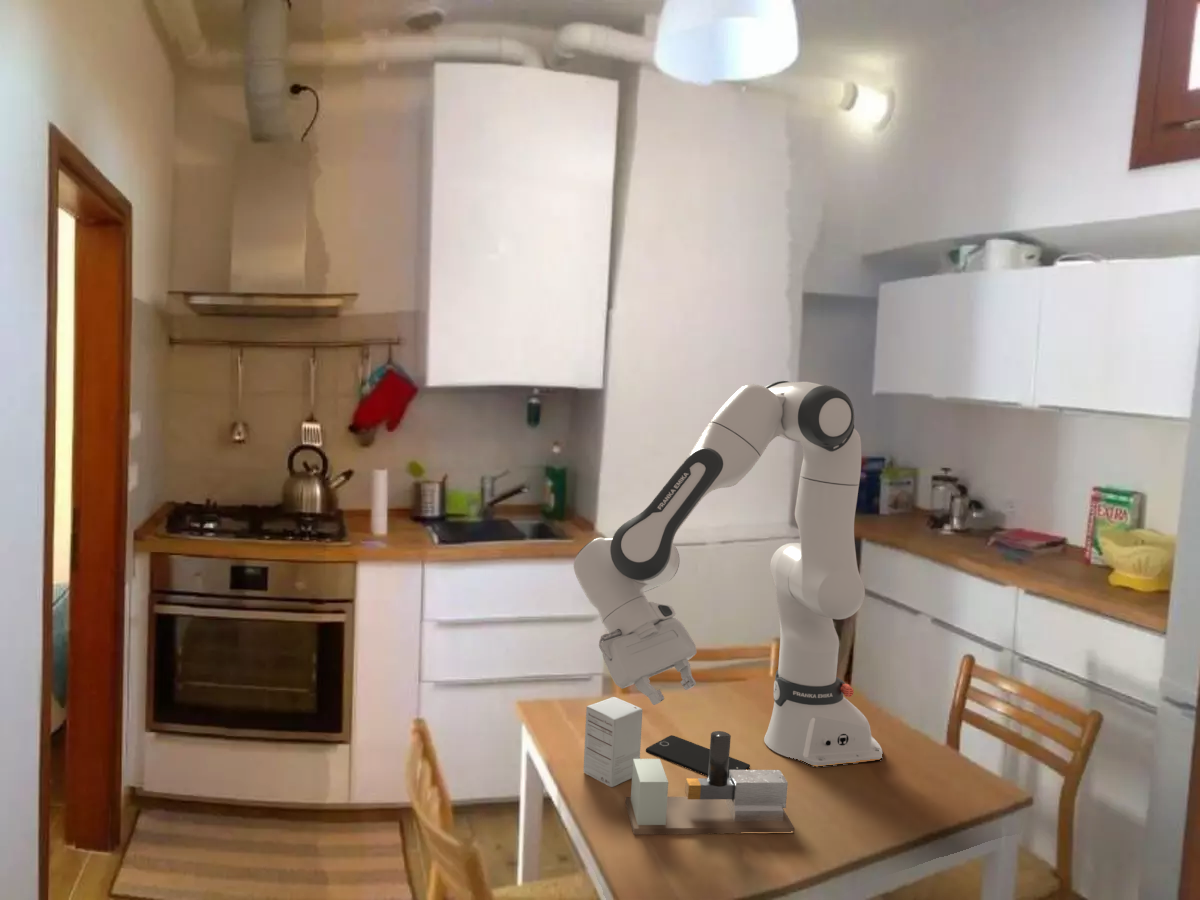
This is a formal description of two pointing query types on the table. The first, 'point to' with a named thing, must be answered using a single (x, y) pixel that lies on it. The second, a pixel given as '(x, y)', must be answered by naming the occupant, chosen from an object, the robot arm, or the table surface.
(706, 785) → the slide bolt
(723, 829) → the base board
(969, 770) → the table surface
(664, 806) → the socket
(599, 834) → the table surface
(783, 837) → the table surface
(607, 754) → the supplement box
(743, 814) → the sleeve
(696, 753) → the cell phone
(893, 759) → the table surface
